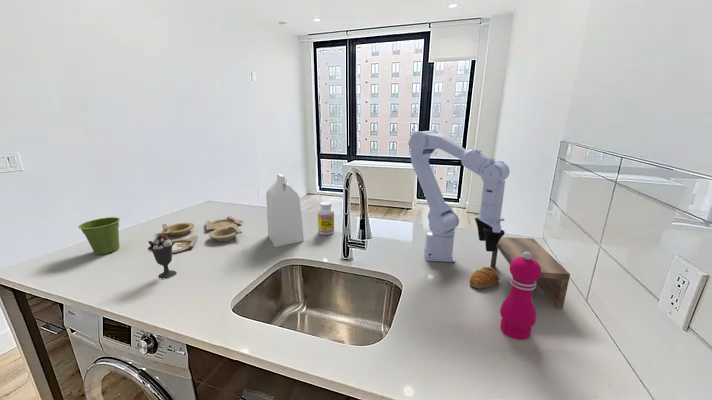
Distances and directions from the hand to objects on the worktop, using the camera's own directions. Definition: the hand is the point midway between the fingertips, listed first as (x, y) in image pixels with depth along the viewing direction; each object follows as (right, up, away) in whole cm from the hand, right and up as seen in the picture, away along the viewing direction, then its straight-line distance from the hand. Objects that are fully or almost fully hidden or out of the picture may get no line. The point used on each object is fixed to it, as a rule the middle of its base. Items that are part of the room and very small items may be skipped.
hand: (486, 245), depth 94 cm
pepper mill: (-3, -16, -23) cm, 29 cm away
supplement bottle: (-53, 0, +35) cm, 63 cm away
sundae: (-100, -10, +2) cm, 100 cm away
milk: (-69, -2, +29) cm, 74 cm away
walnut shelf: (+8, -11, -4) cm, 14 cm away
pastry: (-2, -11, -3) cm, 11 cm away
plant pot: (-133, -5, +19) cm, 134 cm away
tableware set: (-104, -1, +33) cm, 109 cm away
